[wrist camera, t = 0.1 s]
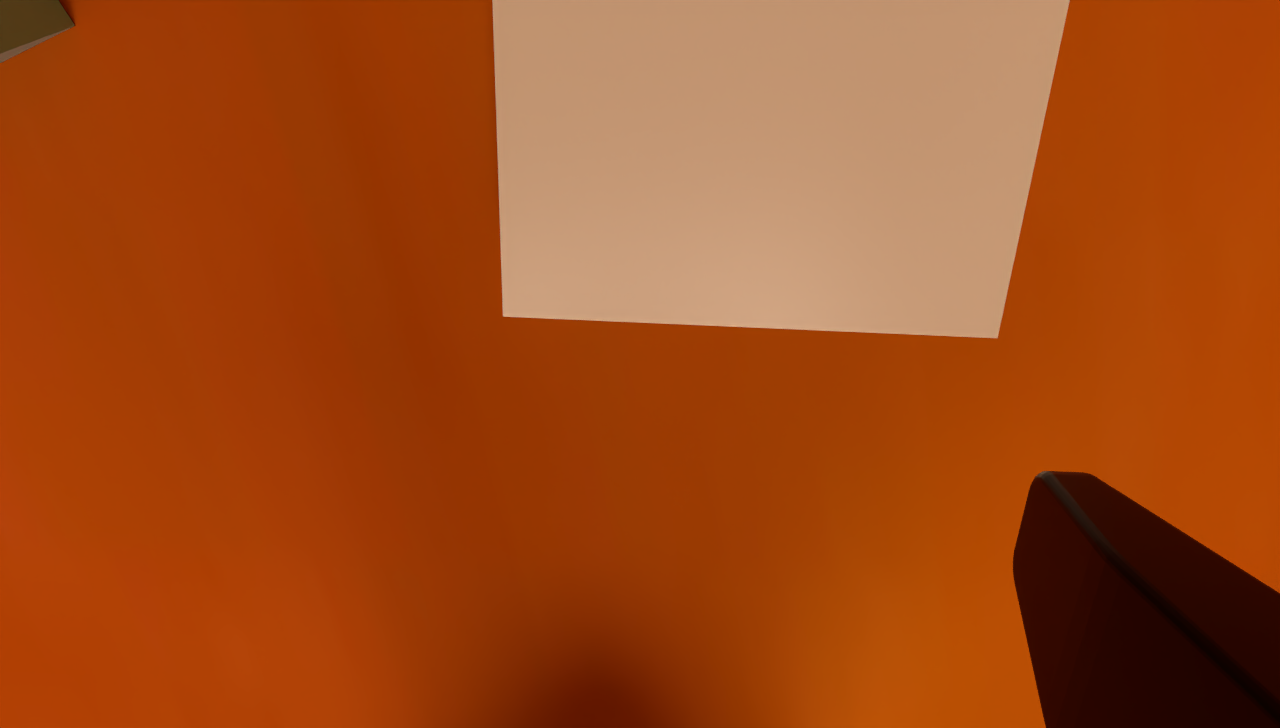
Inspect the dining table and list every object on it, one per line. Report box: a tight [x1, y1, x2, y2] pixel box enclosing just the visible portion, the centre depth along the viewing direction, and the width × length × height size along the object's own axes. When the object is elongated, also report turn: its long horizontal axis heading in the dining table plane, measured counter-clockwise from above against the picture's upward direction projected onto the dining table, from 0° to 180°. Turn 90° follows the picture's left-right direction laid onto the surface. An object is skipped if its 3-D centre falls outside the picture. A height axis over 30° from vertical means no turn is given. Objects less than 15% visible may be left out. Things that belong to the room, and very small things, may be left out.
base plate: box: [492, 0, 1070, 338], centre depth 20 cm, size 10×10×3 cm
